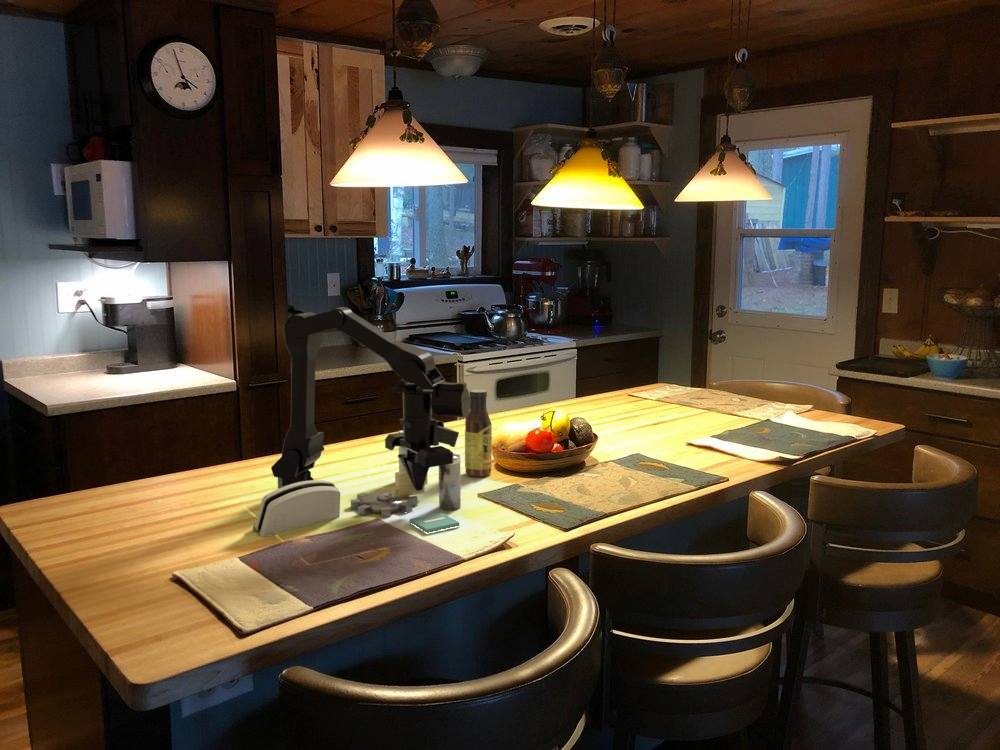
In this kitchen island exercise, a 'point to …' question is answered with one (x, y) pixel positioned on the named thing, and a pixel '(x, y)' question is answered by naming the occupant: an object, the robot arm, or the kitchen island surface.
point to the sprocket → (389, 498)
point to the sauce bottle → (478, 436)
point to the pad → (434, 522)
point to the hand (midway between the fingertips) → (418, 490)
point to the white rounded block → (297, 506)
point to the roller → (450, 485)
